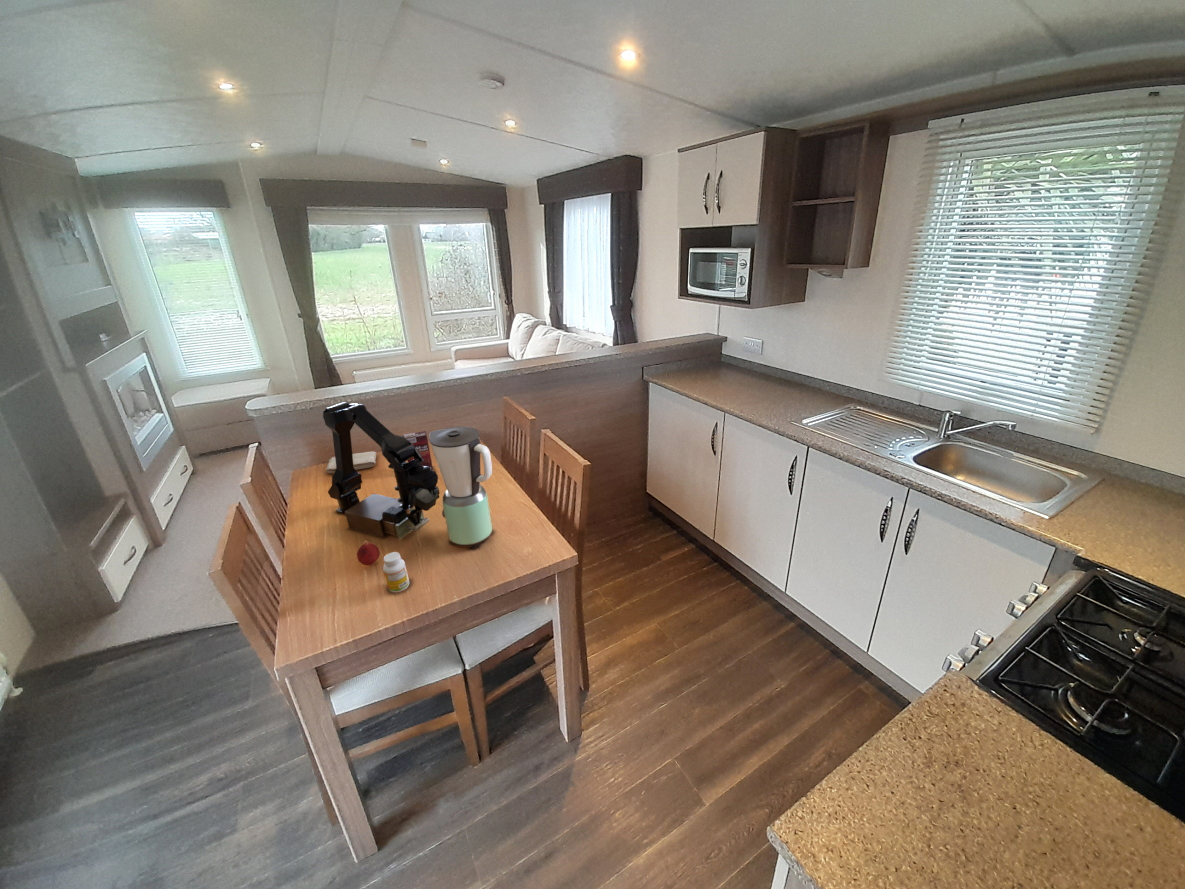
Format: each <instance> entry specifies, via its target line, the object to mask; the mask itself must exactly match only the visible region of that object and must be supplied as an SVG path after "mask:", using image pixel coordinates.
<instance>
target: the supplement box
mask: <svg viewBox="0 0 1185 889" xmlns="http://www.w3.org/2000/svg"><path fill="white" fill-rule="evenodd" d="M402 437H404V438H405V439H407V440H408V441H409V442H411V443H412V444H413V445H414V447H415V448H416V450H417V451H418V452H419V453H420V454H421V455H422V456H421V457H422V458H423V460H424V462H423V463H421V465H422V466H428V467H430V470H432V471H434V467H433V461H432V456H431V451H430V446H429V438H428V435H427V431H426V430H423V431H418V432H411V433H406V434H402ZM414 459H415V458H414V457H413V458H411V459H409V460H407V462H410V461H412V460H414Z"/></svg>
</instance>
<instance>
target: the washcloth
mask: <svg viewBox="0 0 1185 889" xmlns="http://www.w3.org/2000/svg"><path fill="white" fill-rule="evenodd" d="M352 455H353V466H354V469H355V470H356V471H358V470H362V469H369V468H372V467H375V466H376V462H377V461H376V459H377V452H376V451H375V450H374V451H364V452H357V453H352ZM325 470H326V473H327V474H332V475H333V474H334V472H335V471H336V460H335V456H331V458H329V459H328V463H327V466H326V469H325Z"/></svg>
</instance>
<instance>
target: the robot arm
mask: <svg viewBox="0 0 1185 889" xmlns="http://www.w3.org/2000/svg"><path fill="white" fill-rule="evenodd" d="M322 419H323V420H324V425H325V426H326V427H327V428H328V429H329V430H330V431H331V433H332V441H333V450H334V457H335V460H336V471H335V472H334V474H332V476H331V486H330V487H329V489H328V491H327V494H328V495H329V497H330V498H331V499H334V500H337V504H338V508H336V510H335V512H337V513H340V514H344V515H345V511H346V510H348V509H350V508H351V507H353V506H354V505H356V504H357V503H359V502H360V498H359V496H358V493H357V491H359V490H361V489H362V483H363V480H362V474H361V473H360V472H358V470H355V469H354V466H353V455H352V454H353V446H352V445H353V444H352V435H351V430H352V429H353V427H354V425H356V426H357V427H358V428H359V429H361V431H363V432H364V433H365V434H366V435H367V436H368V437H369V438H370V439H371V440H372V441H374V442H375V443H376V444H377V445H378V446H379V447H380V449H381V454H382V456H383V457H384V458H385V459H386V461H387V462H388V463H389V464H388V466H387V467H388V468H389V469H392V470H393V473H394V474H393V475H394V477H395V482H396V486H394V491H397V492H398V495H399V498H397V499H398V502H400V503H402V505H400V506H399V507H394V506H391V507H390V508H388V509H387V510H385V511H384V512H383V513H382V518H383V521H387V522H391V523H395V524H399V523H401V522H402V521H403V520H405V519H406V517H407V518H408V519H409V520H410V521H411V522H412V523H413V524H414V526H416V525H417V524H419V523H420V519H421V513H422V510H423V512H424V511H425V512H427V511H430V510H431V508H433V507H435V506H436V504H437V500H438V499H439V498H440V494H441V492H440V489H439V486H437V484H438V482H439V475H438V474H437V472H436V470H435V471H434V470H433V471H432V470H430V467H428V466H422V465H421V463H423V462H424V460H423V458H422V457H421V456H422V455H421V454H420V453H419V452H418V451H417V450H416V448H415V447H414V445H413V444H412V443H411V442H409V441H408V440H407V439H405V438H404V437H403V435H402V436H401V435H399V434H394V433H393V432H392V431H390V430H389V429H388V428H387V427H386V426H385V425H384V424H383V423H381V422H380V420H378V418H376V417H375V416H374V415H373V414H372V413H370V411H369V410H368V409H367V407H366V406H365V405H364V404H363V403H359V404H358V403H349V402H347V401H346V402H345V401H344V402H340V403H337V404H335V405H331V406H329V407H326V408H325V409H323V411H322ZM413 457H414V458H415V459H414V460H412V461H410V462H408V460H409V459H411V458H413Z"/></svg>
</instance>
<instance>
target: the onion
mask: <svg viewBox="0 0 1185 889" xmlns="http://www.w3.org/2000/svg"><path fill="white" fill-rule="evenodd" d="M380 555H381V552H380V548H379V547H378V546H377V545H376V544H374V543H372V542H369V540H364V541H363V543H362V544H361V545H360V546H359V547H358V549H357V551H356V558H357V560H358V563H360V564H362V565H363V566H372V565H374V564H375V563H376V562H378V560H379V558H380Z"/></svg>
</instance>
